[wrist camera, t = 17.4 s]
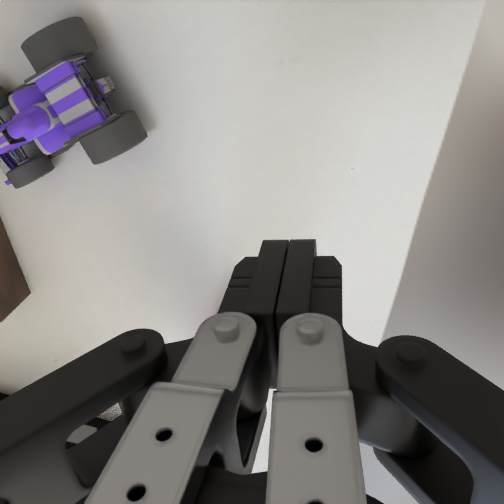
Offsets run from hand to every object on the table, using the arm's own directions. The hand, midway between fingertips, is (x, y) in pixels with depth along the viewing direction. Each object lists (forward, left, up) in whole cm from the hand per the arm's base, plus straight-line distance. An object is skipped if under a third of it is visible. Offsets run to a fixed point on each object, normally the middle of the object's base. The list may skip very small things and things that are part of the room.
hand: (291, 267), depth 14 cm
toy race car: (-1, -22, -25) cm, 33 cm away
